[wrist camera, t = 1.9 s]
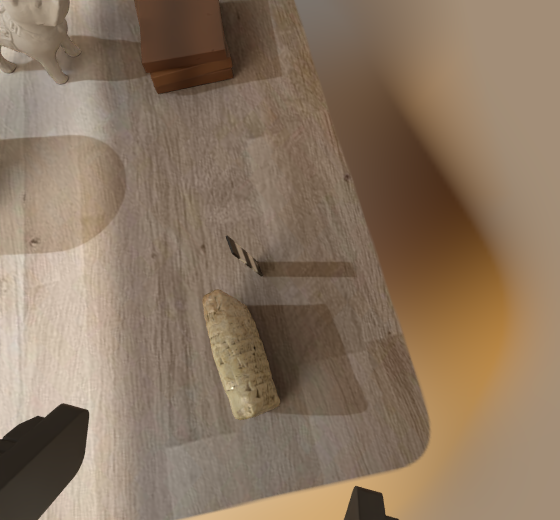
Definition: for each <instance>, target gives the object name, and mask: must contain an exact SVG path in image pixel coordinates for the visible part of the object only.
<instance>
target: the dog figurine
mask: <svg viewBox="0 0 560 520" xmlns="http://www.w3.org/2000/svg"><path fill="white" fill-rule="evenodd" d="M69 5H70V1H69V0H0V69H1V70H2V71H3V72H5V73H11V72H12V71H13V70H14V69H15V68H16V65H15V64H14V63H11V62H9V61H7V60H6V59H5V58H4V57H3V56H2V54H1V46H4V47H7V48H10V49H12V50H15V51H17V52H21V53H25V54H26V55H27V56H29V57H31V58H33V59H35V60H37V61H39V62H40V64H41V65H42V66H43V67H44V68H45V69H46V71H47V72H48V73H49V75H50V76H51V77H52V78H53V80H54V81H55V82H56V83H58V84H63V83H65V82H66V81H67V80H68V77H67V76H66V75H65V74H64V73H63V72H62V70H61V68H60V66H59V64H58V61H57V59H56V55H55V54H56V51H57V50H58V48H59V46H60V45H61V46H62V47H63V48H64V50H65V53H67V54H69V55H70V56H72V57H75V56H78V55H79V54H80V52H81V49H80V48H79V47H77V46H76V45H75V44H74V43H73V42H72V41H71V40H70V38H69V37H68V35H67V30H68V27H67V22H66V20H65V17H66V15H67V13H68V10H69Z"/></svg>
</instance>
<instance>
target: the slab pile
mask: <svg viewBox="0 0 560 520" xmlns="http://www.w3.org/2000/svg"><path fill="white" fill-rule="evenodd" d="M134 2H135V7H136V11H137V16H138V20H139V25H140V35H141V54H142V64H143V66H144V69H145V71H146V73H150V75H151V79H152V81H153V84H154V87H155V89H156V91H157V93H158V94H160V93H165V92H170V91H174V90H179V89H184V88H189V87H193V86H198V85H203V84H207V83H212V82H217V81H222V80H226V79H231V78H233V72H232V67H233V65H232V60H231V56H230V53H229V50H228V46H227V43H226V39H225V35H224V30H223V24H222V17H221V10H220V3H219V0H134Z"/></svg>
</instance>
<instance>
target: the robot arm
mask: <svg viewBox="0 0 560 520" xmlns="http://www.w3.org/2000/svg"><path fill="white" fill-rule="evenodd" d="M88 422H89V411H88V410H86V409H82V408H79V407H75V406H72V405H68V404H64V403H63V404H60V405H59V406H58V407H57V408H55V409H54V410H53V411H52V412H51V413H50V414H48V415H47V416H46V417H45V418H44V417H40V416H37V417H34V418H32V419H30V420H28V421H25V422H23V423H21V424H19V425H17V426H16V427H15V428H14V429H12V430H11V431H10V432H9V433H7V434H6V435H5V436H4V437H3V439H0V520H38V519H39V518H40V517H41V515H42V514H43V513H44V512H45V511H46V510H47V508H48V507H49V506H50V505H51V504H52V502H53V501H54V500H55V499H56V498H57V497H58V495H59V494H60V493H61V492H62V491H63V489H64V488H65V487H66V486H67V485H68V484H69V482H70V481H71V480H72V479H73V478H74V476H75V475H76V474H77V472H78V470H79V468H80V466H81V464H82V462H83V459H84V455H85V448H86V439H87V431H88ZM344 520H399V519H396V518H393V517H389V516H386V515H385V508H384V501H383V496H382V493H380V492H376V491H372V490H368V489H365V488H362V487H358V486H355V487H354V489H353V492H352V495H351V499H350V502H349V505H348V509H347V512H346V515H345V518H344Z"/></svg>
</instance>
